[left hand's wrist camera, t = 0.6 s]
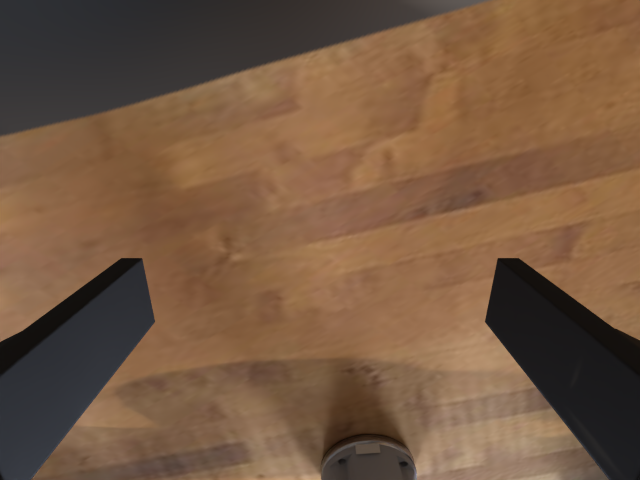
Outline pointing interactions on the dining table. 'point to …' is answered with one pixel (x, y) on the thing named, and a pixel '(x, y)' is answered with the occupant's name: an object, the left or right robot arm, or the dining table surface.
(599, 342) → the left robot arm
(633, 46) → the dining table surface
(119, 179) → the dining table surface
